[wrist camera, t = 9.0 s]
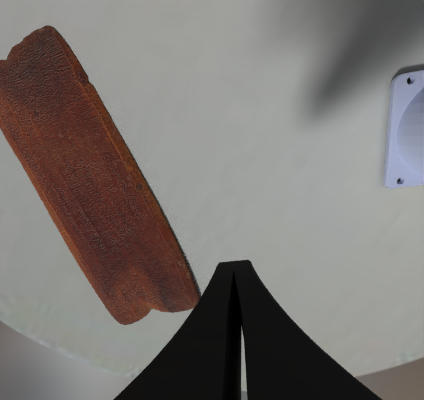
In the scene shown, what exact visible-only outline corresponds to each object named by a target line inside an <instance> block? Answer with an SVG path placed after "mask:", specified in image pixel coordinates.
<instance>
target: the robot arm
mask: <svg viewBox="0 0 424 400" xmlns="http://www.w3.org/2000/svg"><path fill="white" fill-rule="evenodd" d="M408 77H409V78H410V80H411V81H410V83H409V84H408V83H407V79H408ZM399 178H400V182H398V183H397V180H398V179H399ZM383 184H384V186H386V187H388V188H398V187H407V186H415V185H423V184H424V70H420V71H414V72H408V73H403V74H400V75H397V76H396V77H394V79H393V80H392V83H391V94H390V106H389V118H388V130H387V143H386V155H385V167H384V179H383ZM241 325H242V331H243V336H244V346H245V362H246V379H247V395H248V400H382V399H381V398H379V397H378V396H377V395H376V394H374V393H373V392H372V391H371V390H369V389H368V388H367V387H366V386H364V385H363V384H362V383H361V382H359V381H358V380H357V379H356V378H354V377H353V376H352V375H351V374H350V373H349V372H347V371H346V370H345V369H344V368H343V367H342V366H341V365H339V364H338V363H337V362H336V361H335V360H334V359H333V358H331V357H330V356H329V355H328V354H327V353H326V352H324V351H323V350H322V349H321V348H320V347H319V346H318V345H317V344H316V343H315V342H314V341H313V340H312V339H311V338H310V337H309V336H308V335H306V334H305V333H304V332H303V330H302V329H301V328H300V327H299V326H298V325H297V324H296V323H295V322H294V321H293V320H292V319H291V318H290V317H289V316H288V315H287V313H286V312H285V311H284V310H283V309H282V308H281V306H280V305H279V304H278V303H277V302H276V300H275V299H274V298H273V296H272V295H271V294H270V292H269V291H268V290H267V288H266V287H265V286H264V284H263V283H262V281H261V280H260V278H259V276H258V275H257V273H256V271H255V270H254V268H253V266H252V263H251V262H250V261H249V260H241V261H230V262H220V263H219V264H218V265H217V267H216V270H215V272H214V274H213V276H212V278H211V280H210V282H209V284H208V286H207V288H206V289H205V291H204V293H203V295H202V296H201V298H200V300H199V301H198V303H197V304H196V306H195V307H194V309H193V310H192V312H191V313H190V315H189V316H188V318H187V319H186V321H185V322H184V323H183V325H182V326H181V327H180V329H179V330H178V331H177V333H176V334H175V335H174V336H173V338H172V339H171V340H170V341H169V342H168V344H167V345H166V346H165V347H164V348H163V349H162V350H161V352H160V353H159V354H158V355H157V356H156V357H155V358H154V360H153V361H152V362H151V363H150V364H149V365H148V366H147V367H146V368H145V369H144V370H143V371H142V372H141V373H140V374H139V375H138V376H137V377H136V378H135V379H134V380H133V381H132V382H131V383H130V384H129V385H128V386H127V387H126V388H125V389H124V390H123V391H122V392H121V393H120V394H119V395H118V396H117V397H116V398H115V399H114V400H241Z"/></svg>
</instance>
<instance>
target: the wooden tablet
mask: <svg viewBox="0 0 424 400" xmlns="http://www.w3.org/2000/svg"><path fill="white" fill-rule="evenodd" d="M0 129H1V130H2V132H3V134H4V136H5V138H6V140H7V141H8V143H9V145H10V146H11V148H12V150H13V152H14V153H15V155H16V156H17V158H18V159H19V161H20V162H21V164H22V166H23V168H24V170H25V171H26V173H27V175H28V177H29V178H30V181H31V182H32V184H33V185H34V187H35V189H36V191H37V193H38V195H39V197H40V198H41V200H42V201H43V203H44V205H45V207H46V209H47V210H48V212H49V214H50V216H51V218H52V220H53V222H54V223H55V225H56V226H57V228H58V230H59V232H60V234H61V235H62V237H63V239H64V241H65V243H66V244H67V246H68V248H69V250H70V251H71V253H72V255H73V256H74V258H75V260H76V261H77V263H78V265H79V266H80V268H81V270H82V271H83V273H84V274H85V276H86V278H87V279H88V281H89V283H90V284H91V285H92V287H93V289H94V290H95V292H96V294H97V295H98V297H99V298H100V299H101V301H102V302H103V304H104V305H105V307H106V308H107V310H108V311H109V312H110V314H111V315H112V316H113V317H114V319H115V320H116V321H118V322H119V323H120V324H123V325H127V324H132V323H134V322H136V321H139V320H140V319H142V318H143V317H145V316H146V315H147V314H148V313H149V312H150V310H151V309H155V310H159V311H162V312H172V313H173V312H180V311H186V310H190V309H192V308H194V307H195V306H196V304H197V303H198V301H199V300H200V299H199V298H200V297H199V295H198V292H197V289H196V286H195V283H194V281H193V278H192V275H191V273H190V271H189V268H188V266H187V264H186V261H185V259H184V257H183V254H182V252H181V250H180V248H179V246H178V243H177V241H176V239H175V237H174V235H173V233H172V231H171V230H170V227H169V225H168V224H167V221H166V219H165V217H164V215H163V214H162V212H161V210H160V207H159V206H158V204H157V202H156V200H155V198H154V196H153V195H152V193H151V191H150V189H149V188H148V186H147V184H146V182H145V180H144V178H143V176H142V174H141V172H140V170H139V169H138V167H137V165H136V163H135V161H134V159H133V157H132V156H131V154H130V152H129V150H128V148H127V146H126V144H125V143H124V141H123V139H122V137H121V136H120V134H119V132H118V130H117V128H116V126H115V125H114V123H113V121H112V119H111V117H110V115H109V114H108V112H107V110H106V108H105V107H104V105H103V103H102V101H101V99H100V97H99V96H98V94H97V92H96V90H95V88H94V87H93V86H92V85H91V84H90V83H89V81H88V76H87V75H86V73H85V72H84V70H83V69H82V67H81V65H80V63H79V62H78V60H77V58H76V57H75V55H74V54H73V52H72V50H71V49H70V48H69V46H68V45H67V43H66V42H65V41H64V40H63V38H62V37H61V36H60V35H59V34H58V32H57V31H55V30H54V29H53V28H52V27H49V26H44V27H43V28H41V29H38V30H35V31H34V32H32V33H31V34H30V35H29V36H26V37H25V38H24V39H23V41H22V42H21V43H19V44H17V45H15V46H14V47H12V49H11V51H10V53H9V55H8V57H7V60H0Z"/></svg>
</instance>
